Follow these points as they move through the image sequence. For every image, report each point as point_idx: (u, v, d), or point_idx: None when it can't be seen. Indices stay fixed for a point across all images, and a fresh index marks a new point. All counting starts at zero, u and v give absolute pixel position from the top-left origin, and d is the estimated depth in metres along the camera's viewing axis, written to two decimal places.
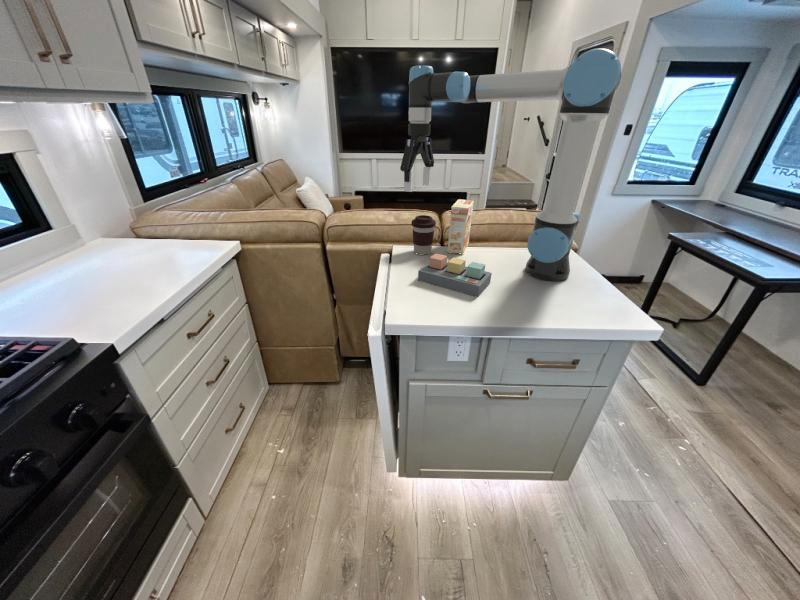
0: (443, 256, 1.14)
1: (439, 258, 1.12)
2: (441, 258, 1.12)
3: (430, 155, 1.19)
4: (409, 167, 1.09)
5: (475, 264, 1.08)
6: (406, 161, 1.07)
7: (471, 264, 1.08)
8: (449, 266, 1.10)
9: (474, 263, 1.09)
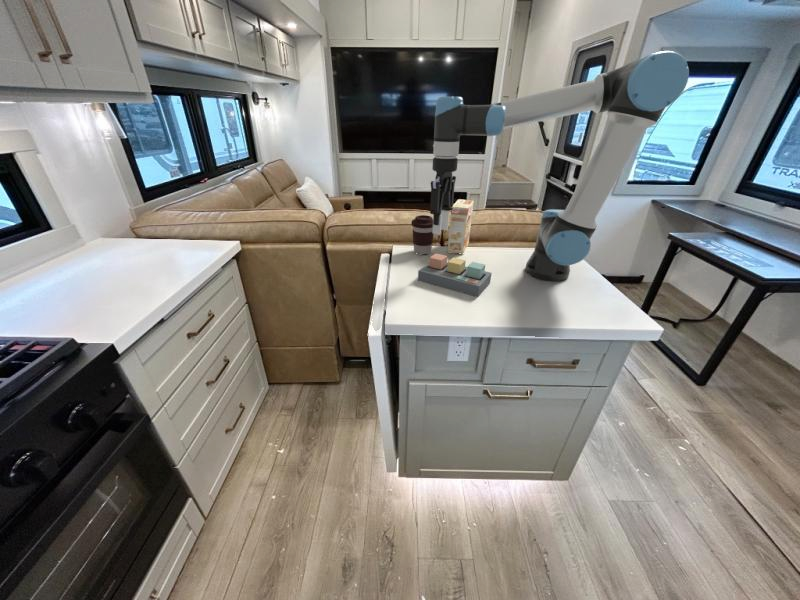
0: (443, 256, 1.14)
1: (439, 258, 1.12)
2: (441, 258, 1.12)
3: (451, 195, 1.07)
4: (439, 211, 1.02)
5: (475, 264, 1.08)
6: (435, 205, 0.99)
7: (471, 264, 1.08)
8: (449, 266, 1.10)
9: (474, 263, 1.09)
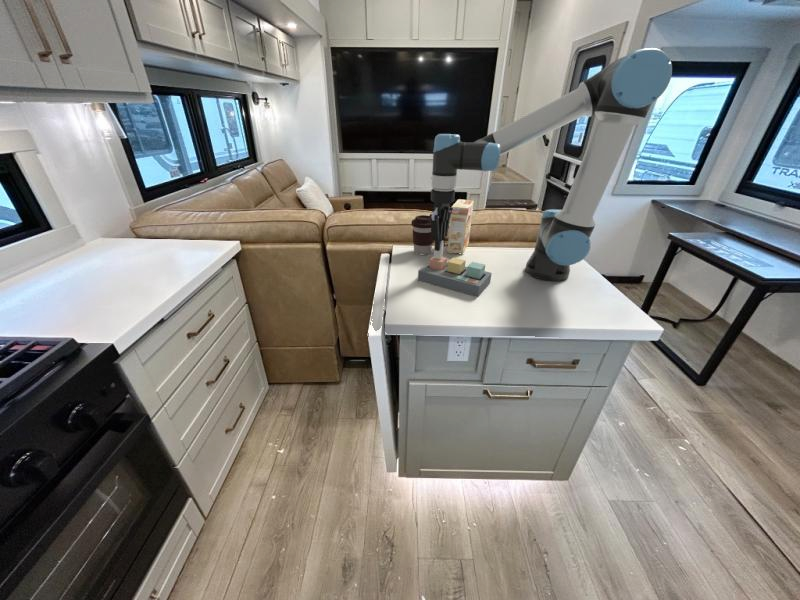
0: (443, 258, 1.14)
1: (439, 260, 1.13)
2: (441, 260, 1.13)
3: (446, 225, 1.10)
4: (439, 239, 1.08)
5: (475, 264, 1.08)
6: (436, 234, 1.06)
7: (471, 264, 1.08)
8: (449, 266, 1.10)
9: (474, 263, 1.09)
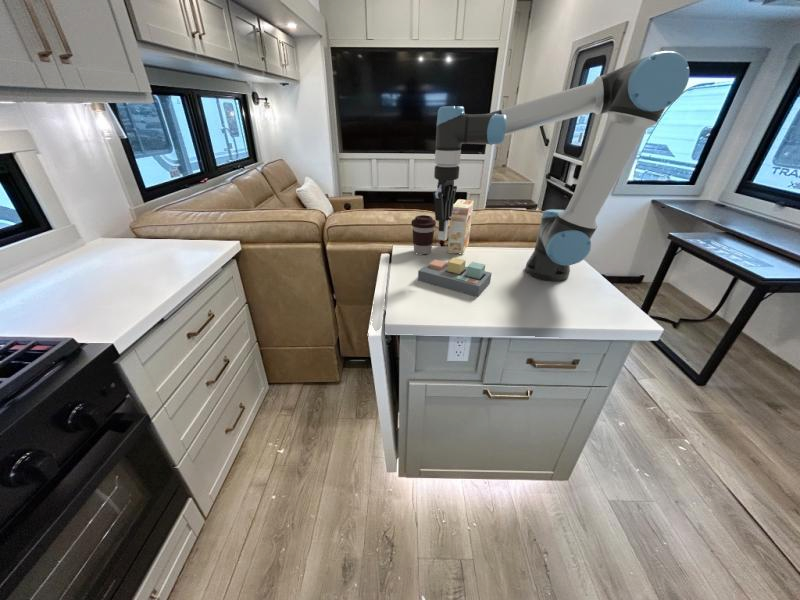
0: (443, 262, 1.15)
1: (439, 264, 1.14)
2: (441, 264, 1.14)
3: (450, 204, 1.07)
4: (444, 218, 1.04)
5: (475, 264, 1.08)
6: (440, 213, 1.02)
7: (471, 264, 1.08)
8: (449, 266, 1.10)
9: (474, 263, 1.09)
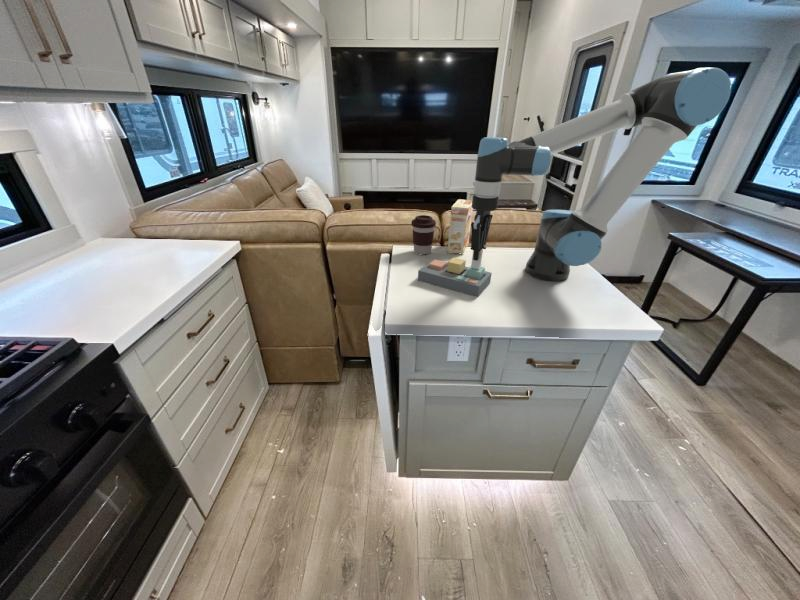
0: (443, 262, 1.15)
1: (439, 264, 1.14)
2: (441, 264, 1.14)
3: (486, 233, 1.04)
4: None
5: None
6: (476, 244, 0.99)
7: None
8: (449, 266, 1.10)
9: None
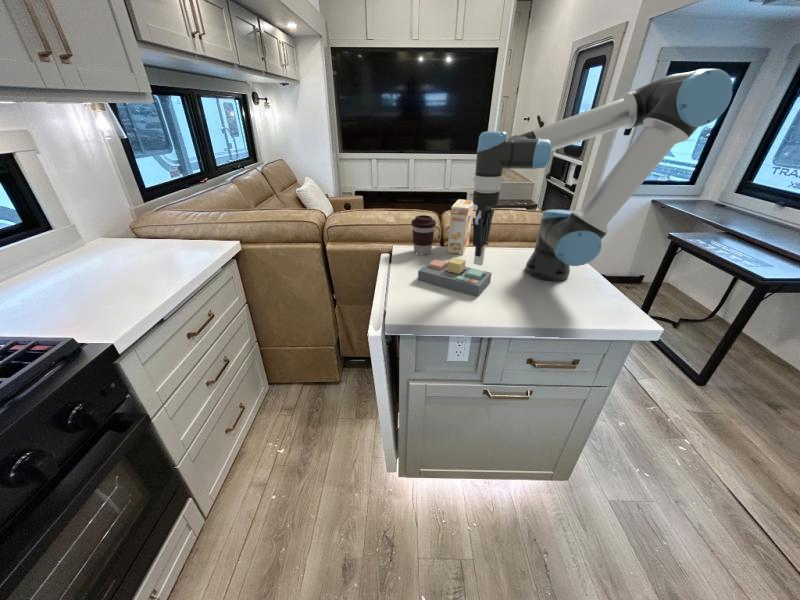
0: (443, 262, 1.15)
1: (439, 264, 1.14)
2: (441, 264, 1.14)
3: (487, 229, 1.03)
4: (481, 244, 1.01)
5: (474, 271, 1.09)
6: (478, 239, 0.99)
7: (470, 271, 1.09)
8: (449, 266, 1.10)
9: (473, 270, 1.10)
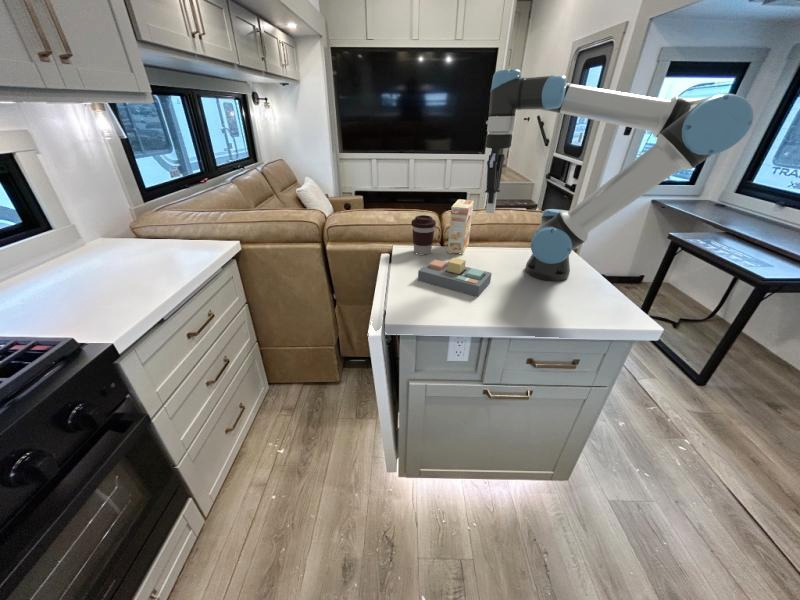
0: (443, 262, 1.15)
1: (439, 264, 1.14)
2: (441, 264, 1.14)
3: (499, 176, 1.05)
4: (494, 189, 1.02)
5: (474, 271, 1.09)
6: (492, 184, 1.00)
7: (470, 271, 1.09)
8: (449, 266, 1.10)
9: (473, 270, 1.10)
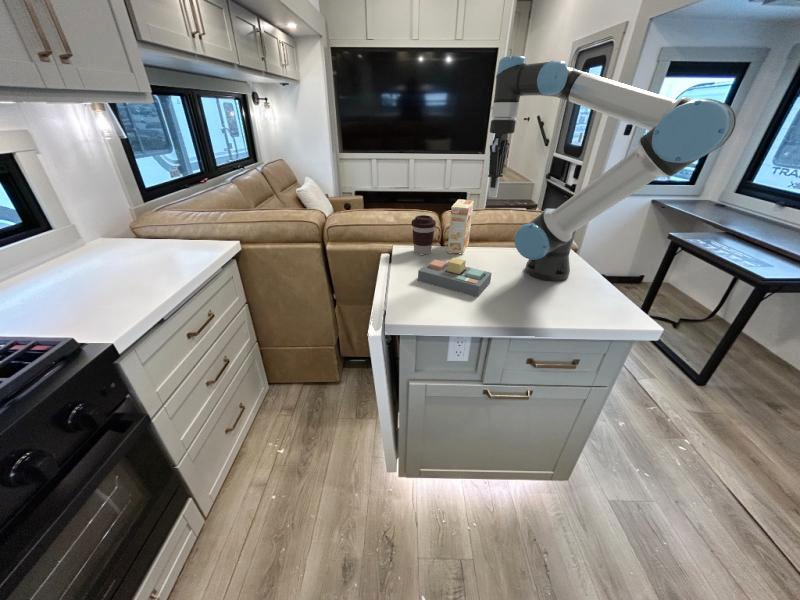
0: (443, 262, 1.15)
1: (439, 264, 1.14)
2: (441, 264, 1.14)
3: None
4: (497, 174, 1.06)
5: (474, 271, 1.09)
6: (494, 168, 1.03)
7: (470, 271, 1.09)
8: (449, 266, 1.10)
9: (473, 270, 1.10)
